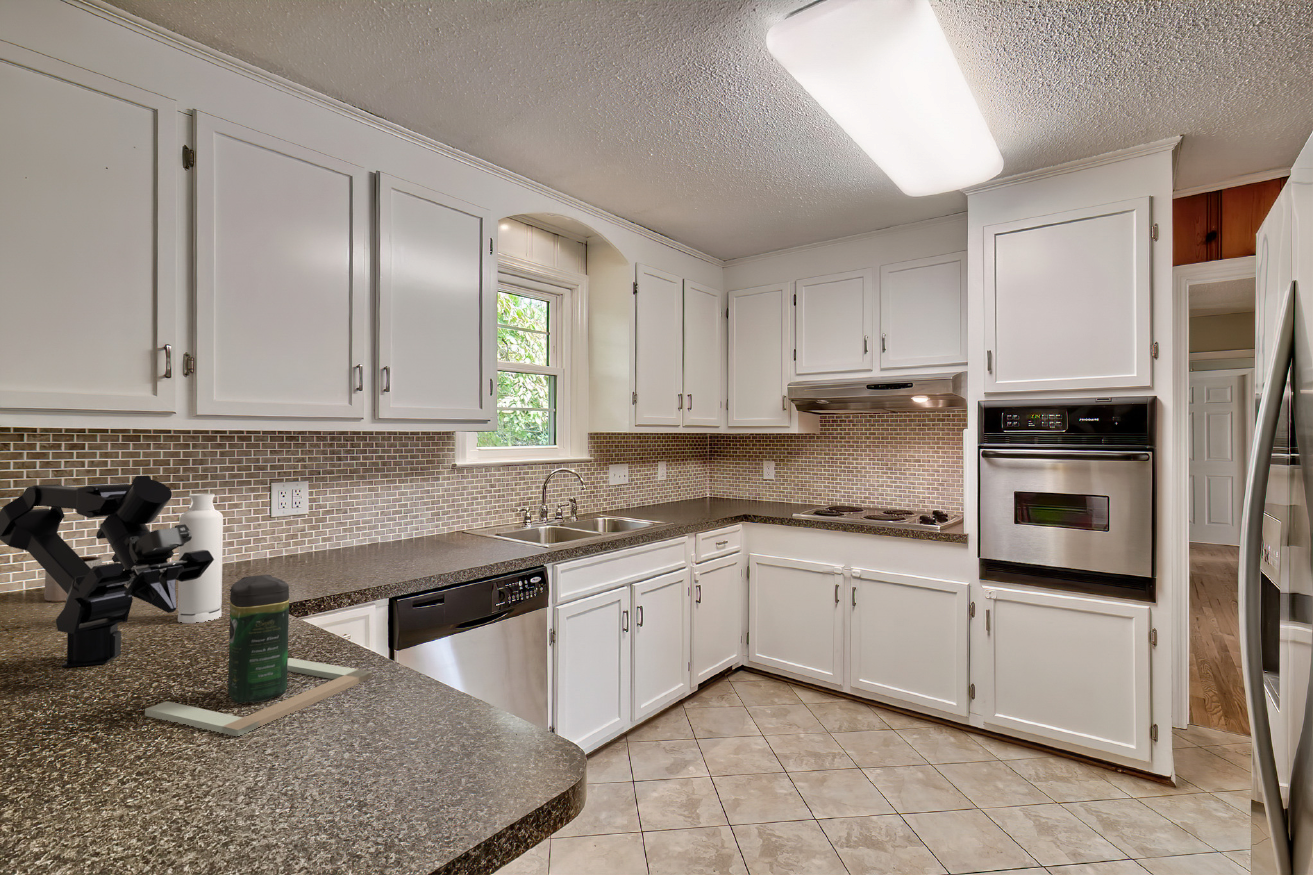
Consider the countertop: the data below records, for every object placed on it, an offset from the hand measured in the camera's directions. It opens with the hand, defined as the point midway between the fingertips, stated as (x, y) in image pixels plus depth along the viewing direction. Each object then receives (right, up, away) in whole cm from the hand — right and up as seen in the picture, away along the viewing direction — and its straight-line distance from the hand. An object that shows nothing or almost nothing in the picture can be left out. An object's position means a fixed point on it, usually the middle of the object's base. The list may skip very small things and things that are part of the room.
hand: (172, 611), depth 109 cm
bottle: (-21, -11, +36) cm, 43 cm away
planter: (-65, -11, +53) cm, 85 cm away
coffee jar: (+19, -11, -7) cm, 23 cm away
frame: (+21, -11, -8) cm, 25 cm away
